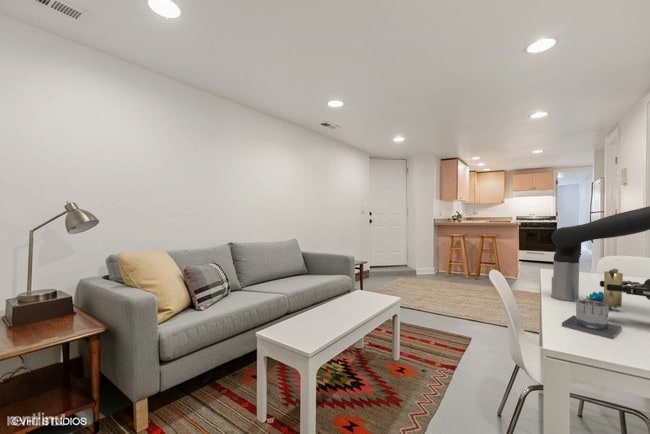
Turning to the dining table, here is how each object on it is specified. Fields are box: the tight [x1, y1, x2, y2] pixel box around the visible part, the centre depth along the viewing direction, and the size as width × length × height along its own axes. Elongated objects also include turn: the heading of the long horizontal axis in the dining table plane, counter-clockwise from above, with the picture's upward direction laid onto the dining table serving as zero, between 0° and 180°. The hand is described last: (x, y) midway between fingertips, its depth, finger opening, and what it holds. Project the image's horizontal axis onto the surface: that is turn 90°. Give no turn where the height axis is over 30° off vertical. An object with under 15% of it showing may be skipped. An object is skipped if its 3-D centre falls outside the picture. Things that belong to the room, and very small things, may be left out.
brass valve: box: [603, 268, 624, 308], centre depth 109 cm, size 5×7×13 cm
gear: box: [585, 291, 618, 309], centre depth 123 cm, size 11×6×10 cm
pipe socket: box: [561, 299, 623, 340], centre depth 102 cm, size 13×13×8 cm
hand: (603, 285), depth 110 cm, fingers closed on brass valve, 4 cm apart
